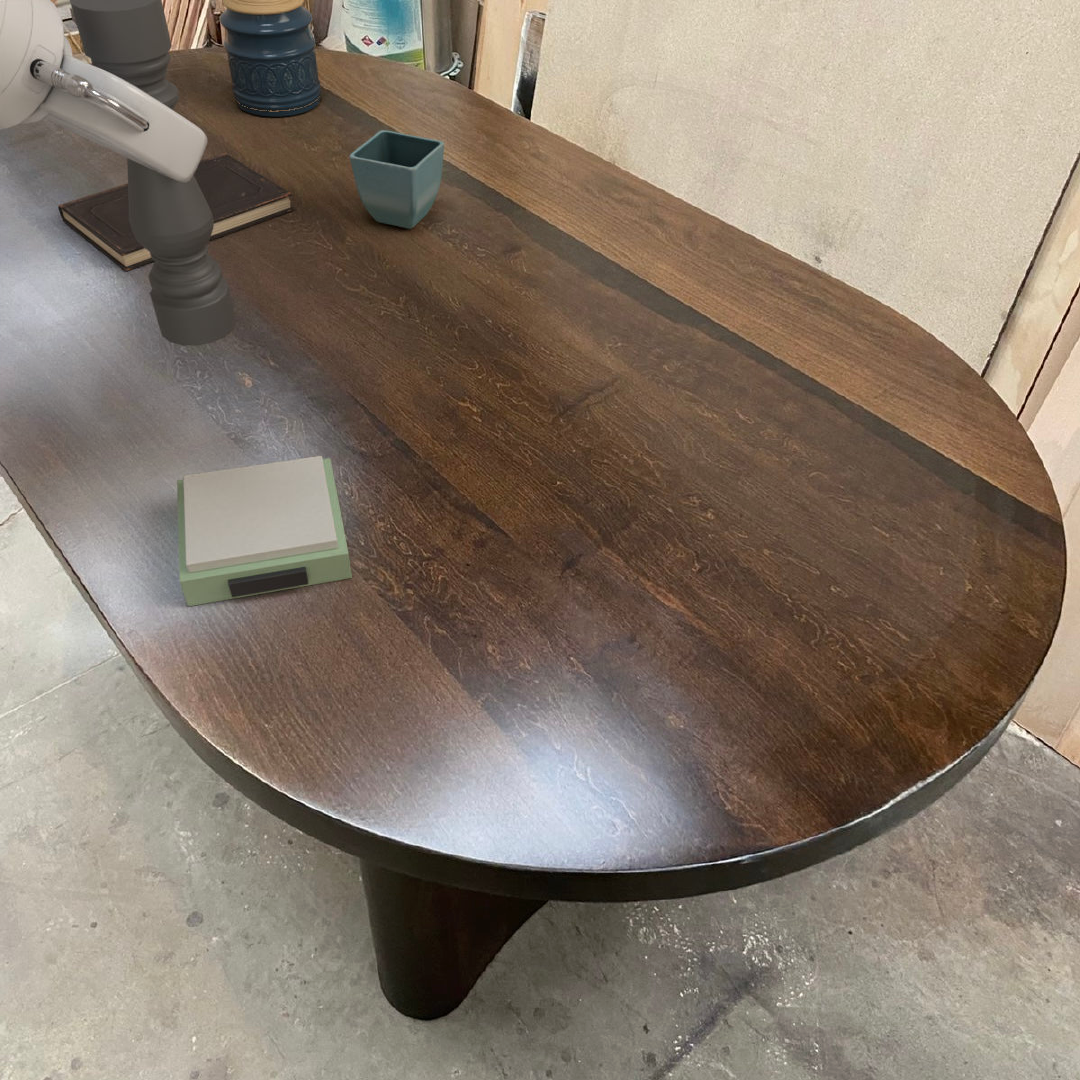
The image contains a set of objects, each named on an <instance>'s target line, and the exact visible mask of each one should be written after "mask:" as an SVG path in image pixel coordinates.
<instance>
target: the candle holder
mask: <svg viewBox="0 0 1080 1080" xmlns="http://www.w3.org/2000/svg"><path fill="white" fill-rule="evenodd" d="M69 3H70V6H71V9H72V13H73V17H74V21H75V25H76V27H77V31H78V34H79V37H80V41H81V45H82V48H83V51H84V55H85V57H87V58H90V61H91V65H93V66H95V67H98V68H100V69H103V70H105V71H107V72H109V73H111V74H114V75H116V76H117V77H119V78H121V79H123V80H125V81H127V82H129V83H130V84H132V85H134V86H136V87H137V88H139V89H140V90H142V91H143V92H145V93H147V94H148V95H150V96H151V97H153V98H155V99H156V100H158V101H159V102H161V103H162V104H164V105H166V106H167V107H169V108H170V109H172V110H173V111H175V108H176V105H177V104H178V102H179V101H180V93H179V89H178V87H177V86H176V84H174V83H173V82H171V81H169V80H167V79H166V76H167V74H168V65H169V63H170V61H171V55H170V54H169V53H170V50H171V49H172V47H173V46H172V45H173V44H172V41H171V36H170V30H169V27H168V23H167V18H166V13H165V10H164V5H163V1H162V0H69ZM126 163H127V164H126V165H127V183H128V196H129V221H130V225H131V228H132V231H133V234H134V236H135V238H136V239H137V241H138V242H139V243H140V244H141V245H142V246H143V247H144V248H145V249H147V250H148V251H150V255H151V258H152V259H153V260H155V261H154V262H153V265H152V267H151V269H150V272H149V273H148V277H147V278H148V281H149V284H150V287H151V289H150V292H149V295H150V299H151V303H152V307H153V309H154V313H155V316H156V320H157V323H158V327H159V330H160V333H161V337H163V338H164V339H165V340H167V341H168V342H169V343H172V344H176V345H179V346H186V347H187V346H193V347H194V346H195V347H196V346H202V345H207V344H212V343H216V342H217V341H219V340H221V339H224V338H225V337H227V336H228V335H230V333H231V332H233V331H234V329H235V326H236V324H237V318H236V313H235V309H234V304H233V300H232V295H231V291H230V287H229V284H228V282H227V279H226V278H224V277H223V273H224V272H223V270H222V268H221V265H220V264H219V263H220V262H218V261H217V260H216V259H214V258H213V257H212V256H211V255H210V254H209V253H208V252H209V249H210V247H209V245H208V244H209V242H210V241H209V239H210V237H211V234H212V231H213V226H214V220H213V215H212V212H211V210H210V208H209V206H208V204H207V201H206V199H205V197H204V195H203V193H202V191H201V189H200V187H199V185H198V183H197V181H196V179H195V177H194V175H193V177H192V178H191V180H190V181H189V182H187V183H183V182H179V181H176V180H174V179H172V178H169V177H167V176H165V175H163V174H161V173H159V172H156V171H154V170H152V169H150V168H148V167H146V166H144V165H141V164H139V163H137V162H135V161H133V160H131V159H129V158H126Z"/></svg>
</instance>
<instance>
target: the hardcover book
mask: <svg viewBox="0 0 1080 1080" xmlns="http://www.w3.org/2000/svg"><path fill="white" fill-rule="evenodd" d="M194 177H195V179H196V181H197V183H198V185H199V187H200V189H201V191H202V193H203V195H204V197H205V199H206V201H207V204H208V206H209V208H210V210H211V212H212V215H213V220H214V226H213V231H212V234H211V237H210V239H209V242H211V241H213V240H216V239H219V238H222V237H225V236H228V235H230V234H233V233H235V232H236V233H237V232H238V231H241V230H244V229H247V228H250V227H252V226H255V225H258V224H261V223H263V222H265V221H268V220H271V219H274V218H277V217H279V216H282V215H285V214H287V213H291V212H294V211H295V208H294V207H293V206H291V203H292V202H291V200H290V197H292V196H293V194H292V192H290V191H288V190H286V189H285V188H283V187H282V186H280V185H278V184H276V183H275V182H273V181H272V180H270V179H269V178H267V177H266V176H264V175H262V174H260V173H259V172H257V171H256V170H254V169H253V168H251V167H249V166H248V165H246V164H244V163H243V162H241V161H239V160H238V159H236V158H234V157H232V156H231V155H230V154H228V153H226V152H222V153H220V154H217V155H214V156H210V157H207V158H204V159H201V160H200V163H199V165H198V167H197V169H196V171H195V173H194ZM57 208H58V213H59V214H60V217H61V219H62V221H63V222H64V223H65V224H66V225H67V226H68V227H69V228H70V229H72V230H73V231H75V232H76V233H77V234H78V235H80V236H81V237H82V238H84V239H85V240H86V241H87V242H89V243H90V244H91V245H92V246H93V247H95V248H96V249H97V250H99V251H100V252H101V253H102V254H104V255H105V256H106V257H107V258H109V260H111V261H112V262H114V263H115V264H116V265H118V266H119V267H120V269H121V268H122V269H123V270H124V271H125V272H129V271H131V270H134V269H136V268H140V267H142V266H145V265H148V264H150V263H154V262H155V260H153V259H152V258H151V255H150V251H148V250H147V249H145V248H144V247H143V246H142V245H141V244H140V243H139V242H138V241H137V239H136V238H135V236H134V234H133V231H132V228H131V225H130V221H129V196H128V182H127V183H125V184H122V185H118V186H115V187H112V188H109V189H105V190H102V191H99V192H96V193H92V194H89V195H86V196H83V197H81V198H77V199H74V200H71V201H67V202H64V203H61V204H58V206H57Z"/></svg>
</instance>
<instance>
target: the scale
mask: <svg viewBox="0 0 1080 1080" xmlns="http://www.w3.org/2000/svg"><path fill="white" fill-rule="evenodd" d="M332 464H333V463H332V460H331V458H330V457H327V458H323V456H322V455H316V456H309V457H302V458H295V459H289V460H283V461H282V460H281V461H275V462H269V463H268V462H267V463H262V464H261V463H260V464H255V465H248V466H240V467H234V468H227V469H220V470H213V471H209V472H208V471H207V472H206V471H205V472H200V473H199V472H198V473H194V474H186V475H183V477H182V479H177V481H176V491H177V492H176V493H177V495H176V496H177V528H178V529H177V534H178V535H177V537H178V575H179V576H178V577H179V581H178V582H179V585H180V587H181V591H182V593H183V596H184V599H185V601H186V604H187V607H193V606H199V605H205V604H210V603H217V602H223V601H228V600H233V599H239V598H244V597H251V596H255V595H262V594H267V593H273V592H274V593H275V592H279V591H285V590H289V589H291V590H292V589H296V588H303V587H309V586H314V585H319V584H325V583H331V582H337V581H341V580H343V581H344V580H349V579H352V578H353V574H352V568H351V567H352V566H351V560H350V555H349V549H348V544H347V543H348V542H347V538H346V532H345V529H344V528H345V527H344V523H343V522H344V521H343V518H342V511H341V507H340V501H339V496H338V491H337V485H336V481H335V476H334V469H333V465H332Z"/></svg>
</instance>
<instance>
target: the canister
mask: <svg viewBox="0 0 1080 1080" xmlns="http://www.w3.org/2000/svg"><path fill="white" fill-rule="evenodd" d="M221 1H222V5H223V6H224V7H225V8H226V9H225V10H223V12H222V13H221V14H220V16H219V23H220V25H221V26H222V27H223V28H224V30H225V37H226V38H225V39H224V42H223V46H224V49H225V50H226V56H227V59H228V60H227V61H228V66H229V72H230V77H231V82H232V85H231V89H232V95H233V97H234V99H235V101H236V100H237V101H238V102H239V103H240V104H239V103H238V102H237V101H236V102H235V103H236V105H237V106H238V107H239V108H240V109H241V110H242V111H244V112H246V113H248V114H252V115H255V116H262V117H269V118H270V117H271V118H272V117H273V118H274V117H276V118H278V117H279V118H280V117H290V116H295V115H300V114H304V113H307V112H309V111H310V110H313V109H314V108H316V107H317V106H318V105H319V104H320V101H321V93H322V88H321V81H320V78H319V72H318V64H317V55H316V48H315V47H316V46H315V45H316V39H315V37H314V36H313V34H312V33H311V27H310V24H311V23H312V22H313V14H312V13H311V11H310V10H309V9H307V8H306V7H305V6H303V5H304V3H305V0H221ZM319 96H320V97H319ZM318 97H319V99H318ZM316 99H318V100H317V101H315V100H316ZM314 101H315V102H314ZM312 102H314V103H312ZM310 103H312V104H311V105H308V104H310ZM242 105H243V106H242ZM306 105H308V106H306ZM244 106H246V107H244ZM304 106H306V107H304ZM247 107H248V108H247ZM300 107H303V108H300ZM250 108H254V109H258V110H254V109H250ZM294 108H300V109H295V110H290V111H279V112H269V111H270V110H272V111H276V110H289V109H294ZM259 110H267V111H259ZM268 110H269V111H268Z"/></svg>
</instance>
